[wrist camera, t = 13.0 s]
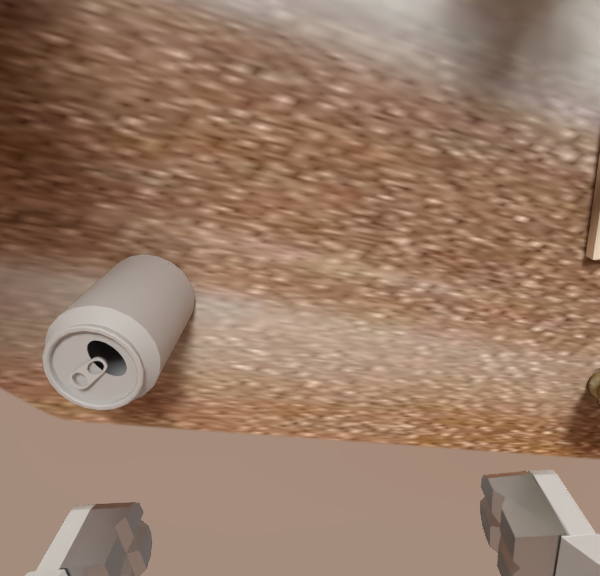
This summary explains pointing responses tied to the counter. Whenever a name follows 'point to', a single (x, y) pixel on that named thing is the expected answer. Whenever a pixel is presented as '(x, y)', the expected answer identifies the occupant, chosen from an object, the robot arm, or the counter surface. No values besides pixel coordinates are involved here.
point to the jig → (595, 222)
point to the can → (118, 333)
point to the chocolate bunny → (595, 385)
